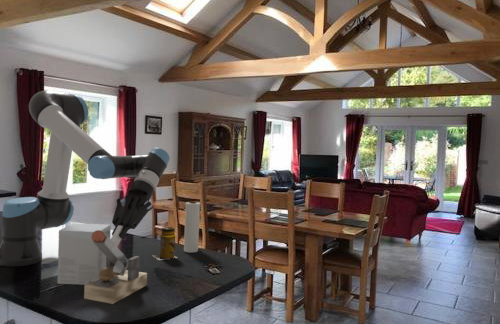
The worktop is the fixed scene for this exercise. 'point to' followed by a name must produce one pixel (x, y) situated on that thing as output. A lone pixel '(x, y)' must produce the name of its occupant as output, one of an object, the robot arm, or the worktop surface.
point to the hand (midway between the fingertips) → (112, 245)
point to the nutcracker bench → (116, 283)
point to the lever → (111, 252)
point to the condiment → (167, 244)
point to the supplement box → (80, 254)
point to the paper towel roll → (191, 227)
